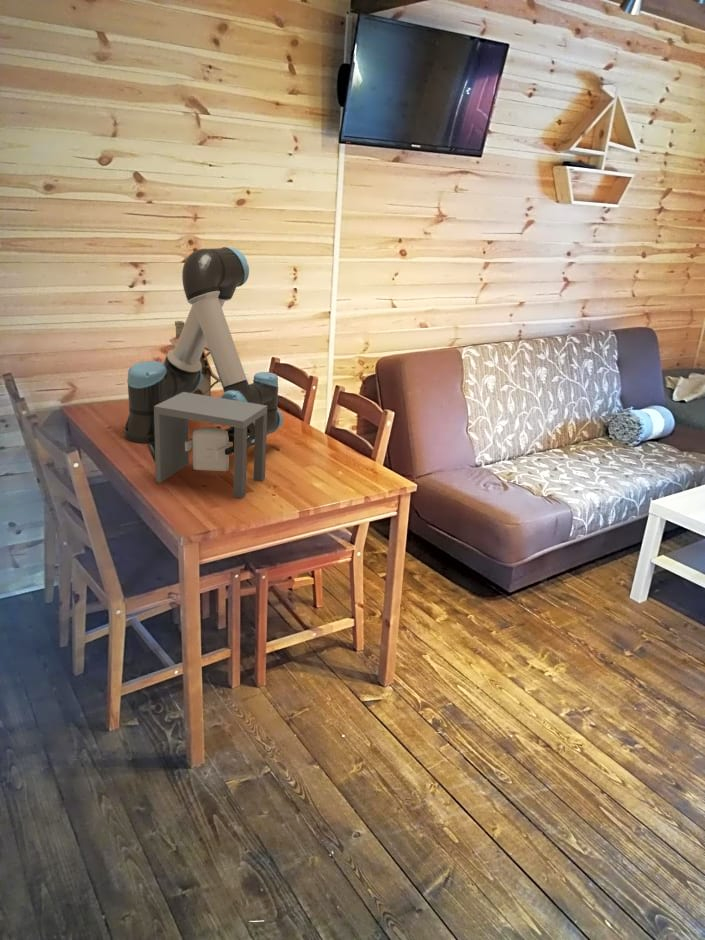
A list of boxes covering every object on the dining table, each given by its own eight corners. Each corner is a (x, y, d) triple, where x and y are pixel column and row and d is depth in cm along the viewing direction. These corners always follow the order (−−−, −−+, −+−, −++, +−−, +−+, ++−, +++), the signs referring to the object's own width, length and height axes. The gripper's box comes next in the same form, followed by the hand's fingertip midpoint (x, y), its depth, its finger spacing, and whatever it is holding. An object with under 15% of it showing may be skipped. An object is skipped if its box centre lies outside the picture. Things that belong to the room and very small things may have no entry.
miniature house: (175, 420, 251) (174, 334, 240) (161, 400, 270) (159, 320, 259) (226, 416, 258) (227, 333, 247) (209, 397, 278) (209, 320, 267)
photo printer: (191, 470, 204) (190, 429, 199) (194, 464, 208) (193, 424, 203) (227, 472, 204) (228, 431, 200) (229, 467, 208) (230, 426, 204)
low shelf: (155, 481, 201) (153, 406, 192) (184, 463, 215) (183, 391, 207) (241, 498, 195) (243, 421, 186) (264, 478, 209) (267, 405, 201)
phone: (155, 459, 214) (147, 442, 226) (155, 463, 214) (147, 446, 227) (181, 458, 217) (172, 441, 229) (181, 461, 217) (172, 444, 230)
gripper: (278, 450, 216) (234, 472, 197) (217, 434, 224) (169, 454, 206) (279, 426, 213) (234, 446, 194) (217, 411, 222) (169, 429, 203)
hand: (201, 450), depth 200 cm, fingers closed on photo printer, 10 cm apart
